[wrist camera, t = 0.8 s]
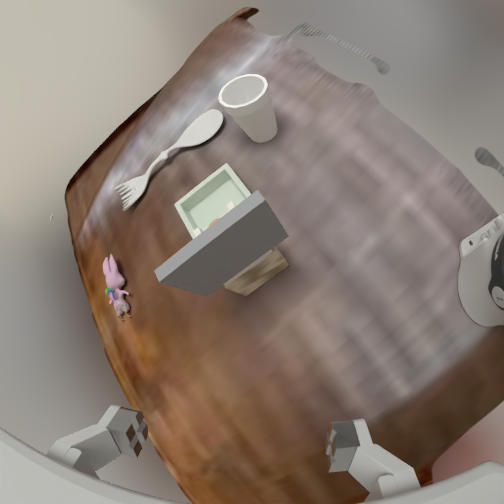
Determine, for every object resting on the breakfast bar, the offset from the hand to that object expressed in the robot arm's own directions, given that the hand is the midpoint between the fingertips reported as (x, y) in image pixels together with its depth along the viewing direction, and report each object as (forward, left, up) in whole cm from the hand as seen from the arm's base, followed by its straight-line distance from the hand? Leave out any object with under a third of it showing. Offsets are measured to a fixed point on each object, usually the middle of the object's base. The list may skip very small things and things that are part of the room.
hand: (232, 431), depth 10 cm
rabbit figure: (+28, -33, -35) cm, 56 cm away
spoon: (+3, -54, -35) cm, 64 cm away
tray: (0, -31, -35) cm, 47 cm away
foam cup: (-17, -43, -35) cm, 58 cm away
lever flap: (0, -20, -26) cm, 32 cm away
